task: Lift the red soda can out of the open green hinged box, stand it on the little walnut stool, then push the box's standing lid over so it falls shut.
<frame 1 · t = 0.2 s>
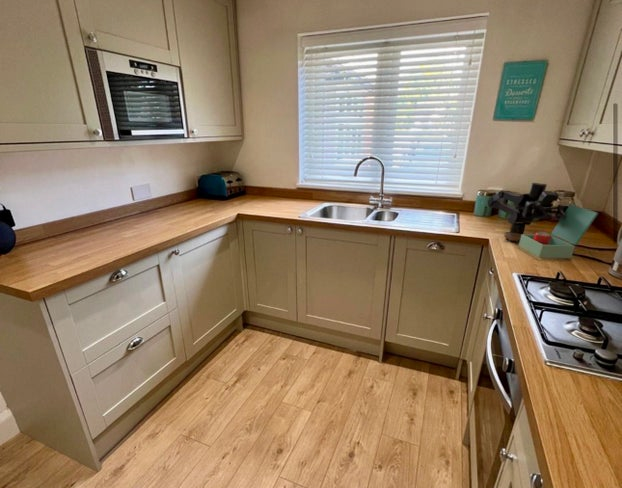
hand: (558, 216, 140), 16 cm above the countertop, tool horizontal, fingers open, 6 cm apart
lid: (573, 224, 140), point 14 cm above the countertop, hinge at 107.9°, touching gripper
can: (537, 251, 145), point 1 cm above the countertop, touching green hinged box
stool: (513, 242, 158), on the countertop
green hinged box: (543, 253, 145), on the countertop
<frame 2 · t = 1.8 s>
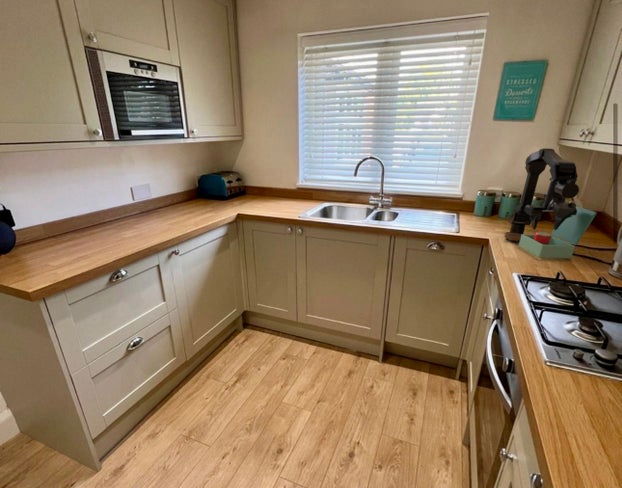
hand: (544, 229, 141), 11 cm above the countertop, tool pointing down, fingers open, 9 cm apart
lid: (572, 223, 140), point 14 cm above the countertop, hinge at 105.1°
everything else where it was.
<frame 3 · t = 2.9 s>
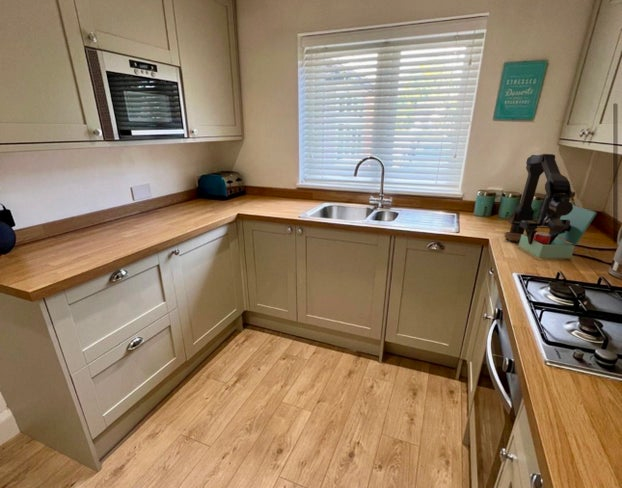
hand: (539, 244, 144), 4 cm above the countertop, tool pointing down, fingers open, 8 cm apart
nothing on the countertop moved.
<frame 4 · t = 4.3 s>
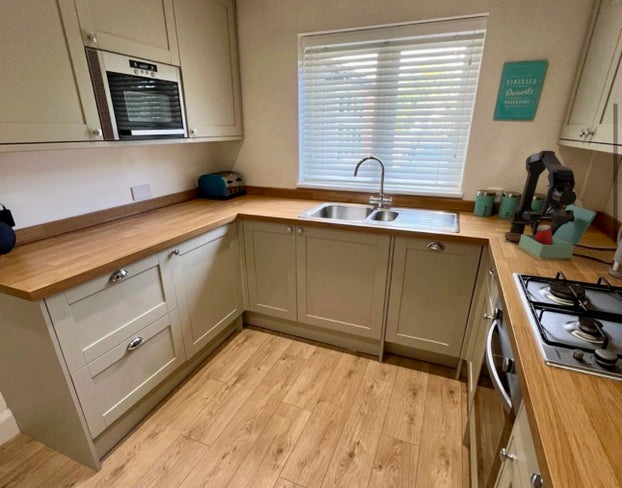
hand: (542, 235, 142), 8 cm above the countertop, tool pointing down, fingers closed on can, 7 cm apart
can: (544, 244, 144), point 4 cm above the countertop, tilted 21°, touching gripper
everything else where it was.
when the fingers open (8 cm above the countertop, at t = 7.1 s): can stays where it is, resting on stool.
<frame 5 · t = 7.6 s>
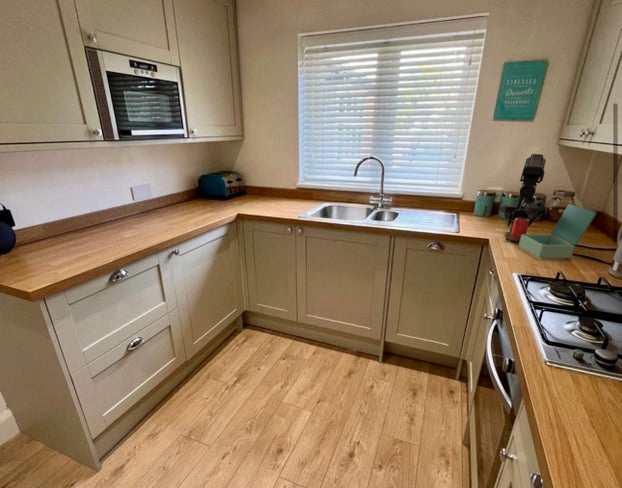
hand: (517, 227, 155), 8 cm above the countertop, tool pointing down, fingers open, 9 cm apart
can: (517, 235, 157), point 3 cm above the countertop, touching stool
everything else where it was.
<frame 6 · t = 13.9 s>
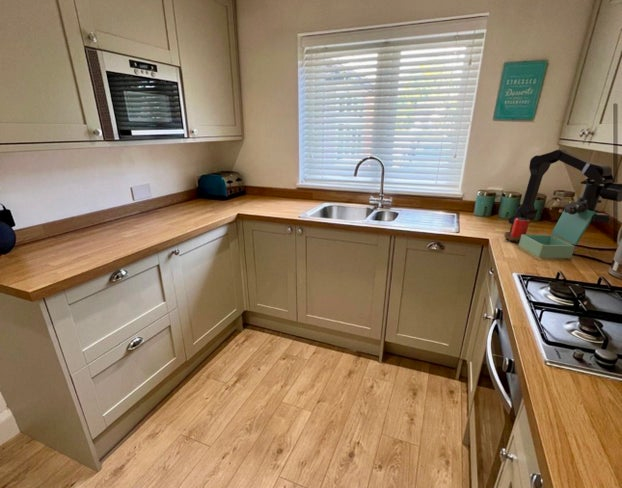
hand: (578, 232, 142), 10 cm above the countertop, tool pointing down, fingers closed
lid: (571, 223, 140), point 14 cm above the countertop, hinge at 103.2°, touching gripper
everything else where it was.
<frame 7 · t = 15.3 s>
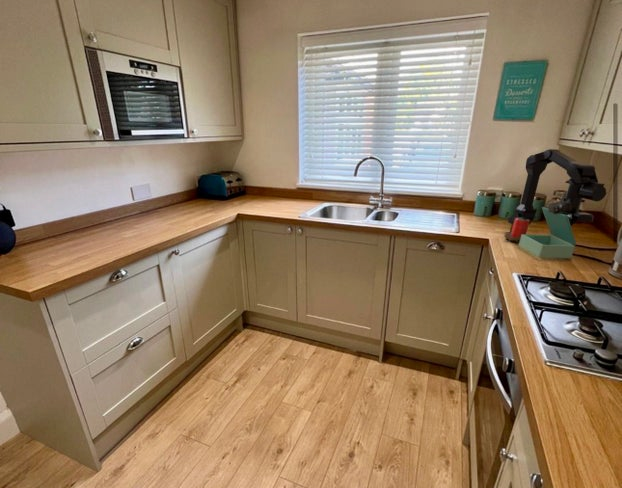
hand: (562, 232, 142), 10 cm above the countertop, tool pointing down, fingers closed
lid: (558, 225, 141), point 13 cm above the countertop, hinge at 57.9°
everything else where it was.
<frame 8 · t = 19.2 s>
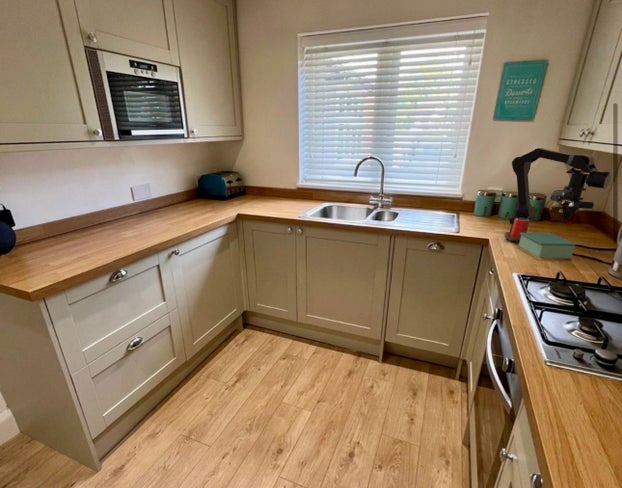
hand: (565, 219, 150), 13 cm above the countertop, tool pointing down, fingers closed
lid: (546, 238, 143), point 7 cm above the countertop, hinge at -0.2°
everything else where it was.
at the end: can 1.1 cm off-centre on the stool, point 3.5 cm above the stool's base; can tilted 0°; lid at +0° (first picture: +108°) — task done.
